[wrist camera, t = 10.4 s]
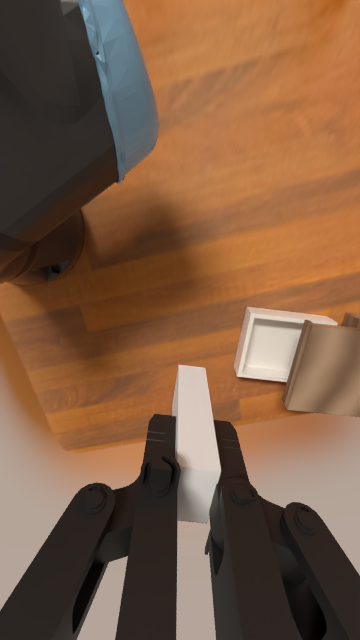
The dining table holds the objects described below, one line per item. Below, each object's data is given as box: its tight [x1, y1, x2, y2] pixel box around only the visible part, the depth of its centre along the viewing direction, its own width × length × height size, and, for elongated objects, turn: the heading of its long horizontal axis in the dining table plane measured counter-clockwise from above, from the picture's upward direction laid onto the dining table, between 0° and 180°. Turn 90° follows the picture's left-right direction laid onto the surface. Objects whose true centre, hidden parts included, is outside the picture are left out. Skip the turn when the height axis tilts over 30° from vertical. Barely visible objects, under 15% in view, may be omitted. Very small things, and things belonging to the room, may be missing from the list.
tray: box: [234, 307, 338, 382], centre depth 40 cm, size 12×10×3 cm
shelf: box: [282, 313, 360, 417], centre depth 37 cm, size 10×12×8 cm
